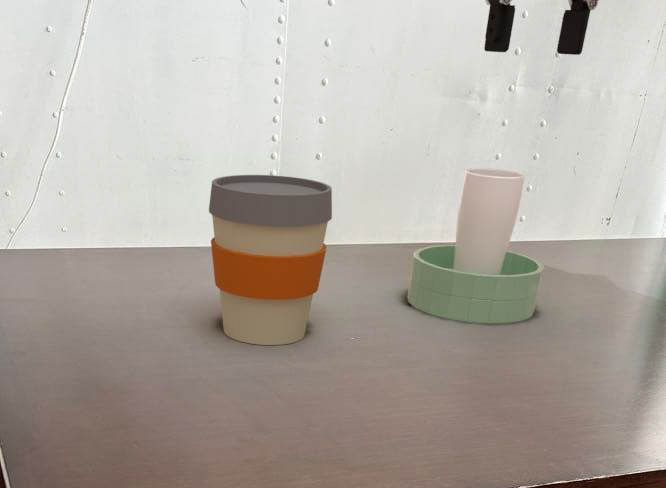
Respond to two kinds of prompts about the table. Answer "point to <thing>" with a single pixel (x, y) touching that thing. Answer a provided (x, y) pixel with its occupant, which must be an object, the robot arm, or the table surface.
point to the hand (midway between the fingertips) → (532, 52)
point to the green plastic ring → (474, 287)
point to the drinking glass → (486, 219)
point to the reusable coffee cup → (268, 253)
